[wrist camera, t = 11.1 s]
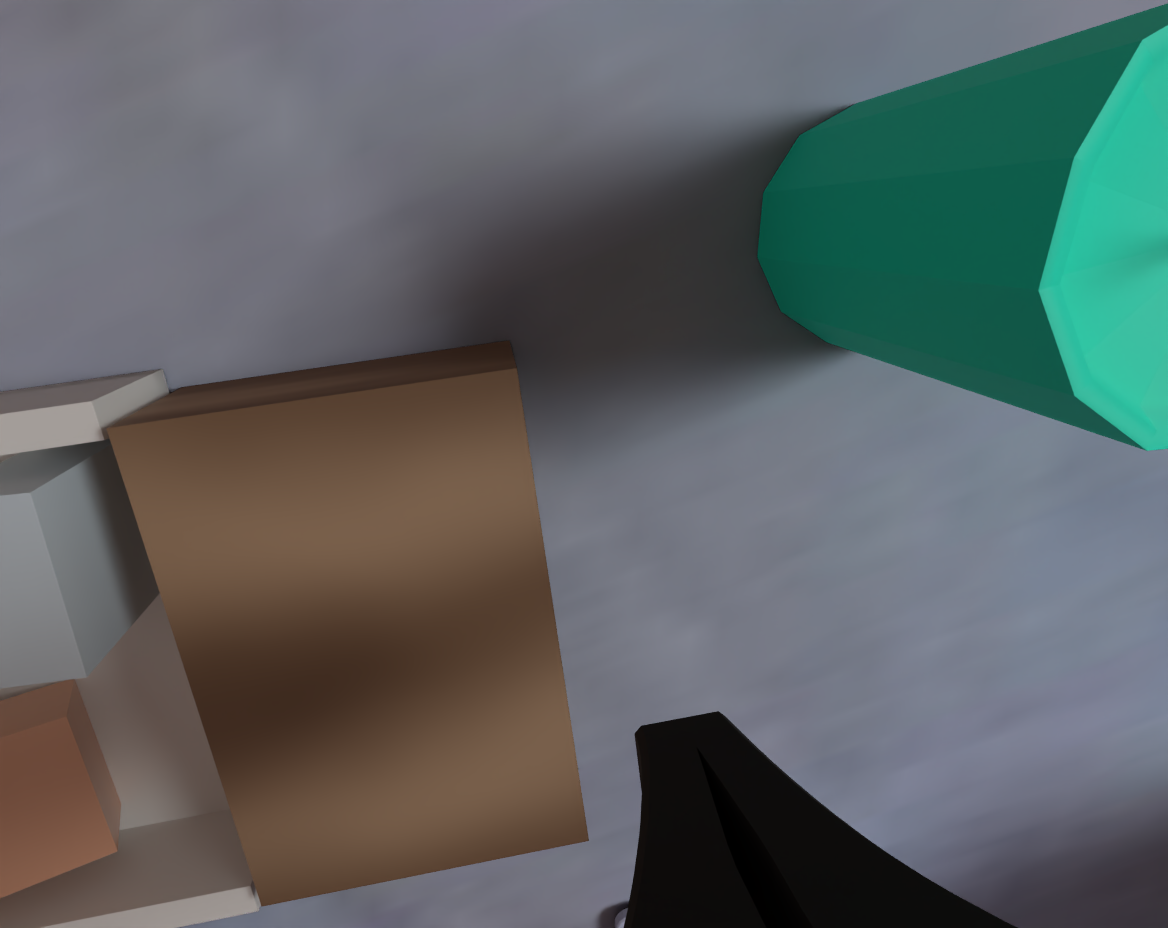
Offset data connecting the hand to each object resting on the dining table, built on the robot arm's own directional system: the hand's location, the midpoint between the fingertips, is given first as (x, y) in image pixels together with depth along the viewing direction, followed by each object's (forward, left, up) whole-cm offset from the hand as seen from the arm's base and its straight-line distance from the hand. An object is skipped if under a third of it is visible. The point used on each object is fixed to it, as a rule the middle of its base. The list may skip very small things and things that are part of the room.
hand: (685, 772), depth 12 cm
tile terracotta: (-3, +15, -7) cm, 17 cm away
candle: (+7, -8, -10) cm, 15 cm away
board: (0, +6, -10) cm, 11 cm away
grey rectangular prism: (+3, +11, -7) cm, 13 cm away
